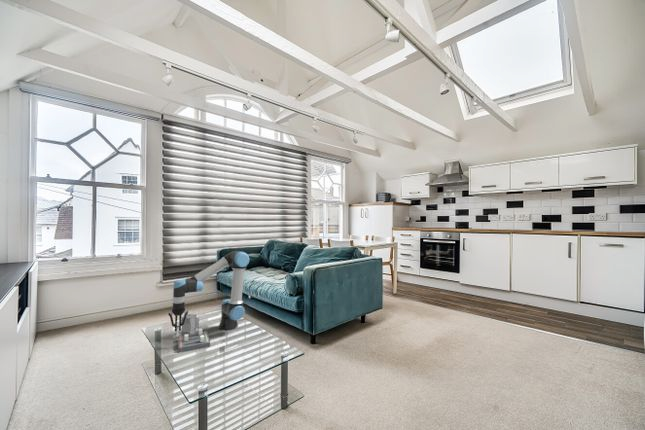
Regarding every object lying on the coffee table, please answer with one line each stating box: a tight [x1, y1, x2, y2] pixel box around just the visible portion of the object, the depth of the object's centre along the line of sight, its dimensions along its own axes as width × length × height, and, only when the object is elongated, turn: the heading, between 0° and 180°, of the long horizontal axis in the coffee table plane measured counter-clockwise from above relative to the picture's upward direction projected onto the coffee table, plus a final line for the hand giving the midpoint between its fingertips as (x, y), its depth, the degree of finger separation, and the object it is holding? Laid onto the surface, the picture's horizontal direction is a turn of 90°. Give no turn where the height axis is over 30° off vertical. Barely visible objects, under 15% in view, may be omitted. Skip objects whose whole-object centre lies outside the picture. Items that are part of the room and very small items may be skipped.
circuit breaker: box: [180, 313, 200, 336], centre depth 220 cm, size 8×14×15 cm, turn 174°
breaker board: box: [177, 331, 211, 353], centre depth 203 cm, size 20×22×3 cm
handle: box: [198, 328, 203, 335], centre depth 211 cm, size 2×4×3 cm, turn 28°
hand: (177, 335), depth 198 cm, fingers closed
